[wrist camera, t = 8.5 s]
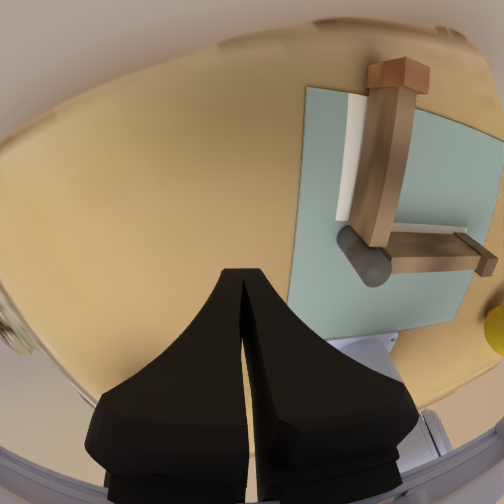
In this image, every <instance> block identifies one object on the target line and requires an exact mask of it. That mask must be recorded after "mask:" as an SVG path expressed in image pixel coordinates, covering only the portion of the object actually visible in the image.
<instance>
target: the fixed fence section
mask: <svg viewBox="0 0 504 504" xmlns="http://www.w3.org/2000/svg"><path fill="white" fill-rule="evenodd" d="M336 241H337V244H338V246H339V247H340V249H341V250H342V252H343V253H344V255H345V256H346V257H347V259H348V260H349V262H350V263H351V265H352V266H353V268H354V269H355V271H356V272H357V274H358V275H359V277H360V278H361V280H362V281H363V283H364V284H365V285H366V286H368V287H371V288H374V287H379V286H381V285H382V284H384V283H385V282H386V281H387V280H388V279H389V277H390V275H391V274H404V273H426V272H445V271H462V270H474V271H475V272H476V273H477V274H478V275H479V276H480V277H487V276H492V273H493V271H494V268H495V266H496V263H497V261H498V258H497V257H496V256H494V255H493V254H492V253H491V252H489V251H488V250H487V249H486V248H484V247H483V246H482V245H480V244H479V243H478V242H477V241H475V240H474V239H473V238H471V237H470V236H469V235H467V234H466V233H460V232H454V234H439V233H417V232H391V233H390V236H389V240H388V243H387V247H386V248H384V247H369V246H368V244H367V243H366V242H365V241H364V240H363V239H362V238H361V237H360V235H359V234H358V233H357V232H356V231H355V230H354V229H353V228H352V227H351V226H350V225H347V226H345V227H343V228H342V229H341V230H340V231H339V232H338V234H337V238H336Z"/></svg>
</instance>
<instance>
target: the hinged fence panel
mask: <svg viewBox="0 0 504 504" xmlns="http://www.w3.org/2000/svg"><path fill="white" fill-rule="evenodd" d="M429 73H430V67H428V66H426V65H423V64H421V63H419V62H416V61H414V60H412V59H409V58H407V57H403V58H398V59H394V60H389V61H384V62H380V63H376V64H372V65H368V78H367V88H369V97H368V106H367V114H366V122H365V129H364V136H363V143H362V150H361V156H360V162H359V168H358V174H357V179H356V185H355V190H354V195H353V200H352V205H351V210H350V215H349V220H348V223H349V224H350V226H351V227H352V228H353V229H354V230H355V231H356V232H357V233H358V234H359V235H360V237H361V238H362V239H363V240H364V241H365V242H366V243H367V244H368V246H369V247H384V248H386V247H387V243H388V240H389V236H390V233H391V229H392V225H393V222H394V218H395V214H396V210H397V206H398V202H399V197H400V193H401V189H402V184H403V179H404V174H405V169H406V164H407V159H408V153H409V148H410V141H411V135H412V128H413V121H414V113H415V104H416V95H417V94H428V88H429Z"/></svg>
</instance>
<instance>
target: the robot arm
mask: <svg viewBox="0 0 504 504" xmlns="http://www.w3.org/2000/svg"><path fill="white" fill-rule="evenodd" d="M397 337H398V332H397V331H392V332H385V333H377V334H369V335H360V336H351V337H341V338H330V339H326V340H324V339H323V338H321V337H320V336H319V335H317V334H316V333H315V332H314V331H313V330H312V329H310V328H309V327H308V326H307V325H306V324H305V323H304V322H303V321H302V320H301V319H300V318H299V317H298V316H297V315H296V314H295V313H294V312H293V311H292V310H291V309H290V308H289V306H288V305H287V304H286V303H285V302H284V301H283V299H282V298H281V297H280V296H279V295H278V293H277V292H276V291H275V289H274V288H273V287H272V285H271V284H270V282H269V281H268V280H267V278H266V276H265V275H264V273H263V272H262V270H261V269H260V268H233V269H224V270H222V271H221V275H220V277H219V280H218V282H217V284H216V286H215V288H214V289H213V291H212V293H211V294H210V296H209V298H208V299H207V301H206V303H205V304H204V306H203V307H202V308H201V310H200V311H199V313H198V314H197V315H196V317H195V318H194V319H193V321H192V322H191V323H190V324H189V326H188V327H187V328H186V329H185V330H184V331H183V333H182V334H181V335H180V336H179V337H178V338H177V339H176V340H175V341H174V342H173V343H172V344H171V345H170V346H169V347H168V348H167V349H166V350H165V351H164V352H163V353H161V354H160V355H159V356H158V357H157V358H156V359H154V360H153V361H152V362H151V363H149V364H148V365H147V366H145V367H144V368H143V369H142V370H140V371H139V372H138V373H136V374H135V375H134V376H132V377H131V378H129V379H127V380H126V381H124V382H123V383H121V384H119V385H118V386H116V387H114V388H113V389H111V390H109V391H107V392H106V393H104V394H102V396H101V398H100V400H99V402H98V404H97V406H96V408H95V411H94V413H93V416H92V419H91V422H90V426H89V429H88V433H87V436H86V440H85V444H84V445H85V449H86V451H87V452H88V454H89V455H90V456H91V457H92V458H93V459H94V460H95V461H96V462H97V463H98V464H100V465H101V466H102V467H103V468H104V469H106V471H108V472H109V473H110V474H111V476H110V482H109V488H105V487H101V486H97V485H94V484H91V483H87V482H84V481H81V480H78V479H75V478H72V477H69V476H66V475H63V474H61V473H58V472H55V471H53V470H50V469H48V468H45V467H43V466H40V465H38V464H36V463H34V462H31V461H29V460H27V459H25V458H23V457H21V456H19V455H17V454H15V453H13V452H11V451H9V450H7V449H5V448H3V447H1V446H0V504H497V503H498V502H499V501H500V500H501V499H502V498H503V497H504V417H503V418H502V419H501V420H500V421H499V422H498V423H497V424H496V425H495V427H493V428H491V429H490V430H488V431H487V432H485V433H483V434H482V435H480V436H478V437H477V438H475V439H473V440H472V441H470V442H468V443H466V444H465V445H462V446H460V447H459V448H457V449H455V450H453V449H452V446H451V443H450V441H449V438H448V436H447V434H446V431H445V429H444V427H443V425H442V423H441V421H440V420H439V417H438V415H437V414H436V412H435V411H432V410H428V409H425V410H423V411H422V412H421V413H422V415H423V418H424V420H425V423H424V421H423V419H422V417H421V415H420V413H419V410H418V408H417V406H416V405H415V404H414V402H413V399H412V397H411V395H410V393H409V392H408V390H407V388H406V386H405V384H404V382H403V380H402V378H401V376H400V374H399V372H398V370H397V368H396V366H395V364H394V363H393V361H392V359H391V357H390V355H389V354H390V352H391V350H392V348H393V346H394V343H395V341H396V339H397ZM242 339H243V346H244V352H245V358H246V364H247V370H248V376H249V382H250V389H251V397H252V411H253V427H254V443H255V460H256V478H257V497H258V502H255V503H245V493H246V487H247V477H248V465H249V439H248V425H247V416H246V406H245V396H244V386H243V374H242V362H241V348H242ZM425 424H426V425H425ZM426 426H427V428H426ZM427 429H428V430H427ZM428 431H429V432H428ZM438 455H439V456H438Z"/></svg>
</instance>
